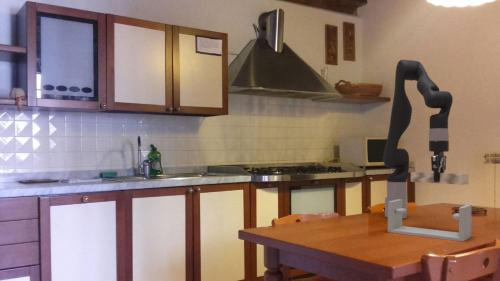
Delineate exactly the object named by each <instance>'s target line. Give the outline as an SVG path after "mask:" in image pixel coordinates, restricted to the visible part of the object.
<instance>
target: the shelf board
mask: <svg viewBox="0 0 500 281" xmlns="http://www.w3.org/2000/svg"><path fill="white" fill-rule="evenodd" d="M410 182H412V183H426V184H427V183H429V184H442V185H443V184H445V185H463V186H464V185H469V173H458V172H457V173H454V172H451V173H450V172H444V173H440V182H434V172H432V171H431V172H424V171H411V172H410Z"/></svg>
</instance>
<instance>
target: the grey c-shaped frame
mask: <svg viewBox="0 0 500 281" xmlns="http://www.w3.org/2000/svg"><path fill="white" fill-rule="evenodd" d="M404 213H406V209H403V208H402V199H398V200H393V201H389V202H388V217H387V233H391V234H392V233H393V234H399V235H400V234H402V235H409V236H414V237H415V236H416V237H425V238H432V239H433V238H434V239H440V240H441V239H442V240H448V241H449V240H450V241H456V242H465V241H467V240H468V239H470V238H471V237H472V204H465V205H463V206H460V207H459V208H458V213H453V215H452V219H453V220H458V232H456V231H448V230H440V229H430V228H421V227H414V226H413V227H411V226H404V225H403V218H402V214H404Z"/></svg>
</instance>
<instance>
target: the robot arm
mask: <svg viewBox="0 0 500 281" xmlns="http://www.w3.org/2000/svg"><path fill="white" fill-rule="evenodd" d="M394 78H395V80H394V91H393V99H392V100H393V101H392V106H391V112H390V113H391V114H390V118H389V119H390V120H389V128H388V133H387V137H386V138H387V139H386V141H385V147H384V150H383V157H382V158H383V164H384V166H385V167H386V168H394V171H393V172H391V173H389V175H387V176H386V196H385V197H384V208H385V209H384V217H385V218H388V202H389V201H393V200H398V199H402V208H403V209H406V213H404V214H402V219H407V216H408V215H407V214H408V213H407V210H408V209H407V207H408V206H407V205H408V204H407V203H408V200H407V199H408V198H407V197H408V196H407V193H408V192H407V191H408V189H407V188H408V177H409V168H410V155H409V152H408V151H407V149H405V148H398V146H399V142H400V140H401V137H402V136H403V135H404V133H406V130H407V129H408V128H409V126H410V124H411V119H412V116H413V107H412V104H411V101H410V100H409V97H408V95H407V93H406V88H405V87H406V86H405V83H406V81H415V82H416V89H417V91H418V92H419V94H420V95H421V96H422V97H423V99H424V100H423V101H424V104H425V106H426V108H429V109H440V110H439V112H438V113H435V114H432V115H430V116H429V132H428V152H433V155H431V156H430V164H431V172H432V173H434V182H440V173H446V169H447V155H445V153H447V152H449V151H450V148H449V146H450V142H449V141H450V140H449V138H450V137H449V136H450V135H449V116H450V113H451V108H452V105H453V96H452V94H451V92H449V91H445V90H444V91H443V90H440V87H439V86H438V85H437V84H436V83H435V82H434V81H433V80H432V79H431V77H430V76H429V74H428V72H427V71H426V69H425V67H424V65H423V64H422V63H421V62H420V61H419V60H412V59H411V60H410V59H400V60H399V61H398V62H397V64H396V68H395V77H394Z"/></svg>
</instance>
